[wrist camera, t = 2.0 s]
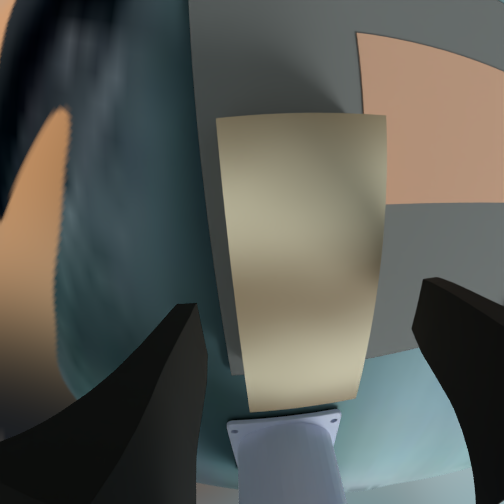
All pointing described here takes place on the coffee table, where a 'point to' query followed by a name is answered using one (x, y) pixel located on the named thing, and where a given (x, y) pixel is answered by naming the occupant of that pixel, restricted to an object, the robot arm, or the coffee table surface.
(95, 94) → the coffee table surface
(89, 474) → the robot arm
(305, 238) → the beige tapered block
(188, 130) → the coffee table surface
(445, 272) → the rubber mat
